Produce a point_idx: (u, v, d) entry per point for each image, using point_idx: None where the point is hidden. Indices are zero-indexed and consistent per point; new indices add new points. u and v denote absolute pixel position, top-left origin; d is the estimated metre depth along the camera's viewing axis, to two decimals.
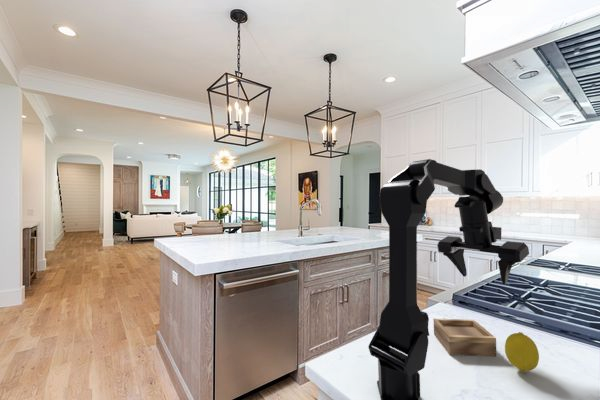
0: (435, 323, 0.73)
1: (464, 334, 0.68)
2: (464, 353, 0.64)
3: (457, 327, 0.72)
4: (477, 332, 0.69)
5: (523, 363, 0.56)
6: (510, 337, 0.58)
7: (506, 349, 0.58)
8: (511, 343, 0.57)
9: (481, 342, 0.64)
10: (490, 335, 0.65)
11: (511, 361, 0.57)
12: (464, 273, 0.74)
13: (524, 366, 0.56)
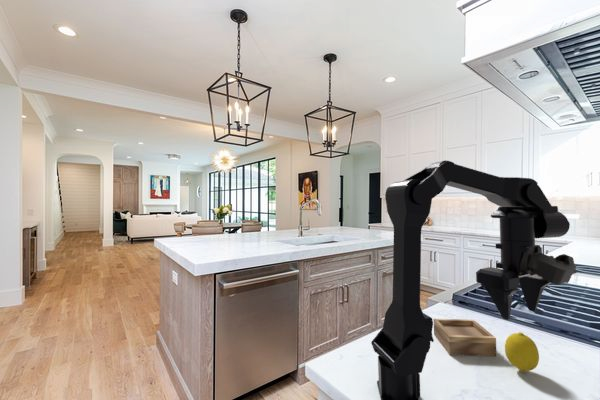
0: (435, 323, 0.73)
1: (464, 334, 0.68)
2: (464, 353, 0.64)
3: (457, 327, 0.72)
4: (477, 332, 0.69)
5: (523, 363, 0.56)
6: (510, 337, 0.58)
7: (506, 349, 0.58)
8: (511, 343, 0.57)
9: (481, 342, 0.64)
10: (490, 335, 0.65)
11: (511, 361, 0.57)
12: (529, 306, 0.60)
13: (524, 366, 0.56)
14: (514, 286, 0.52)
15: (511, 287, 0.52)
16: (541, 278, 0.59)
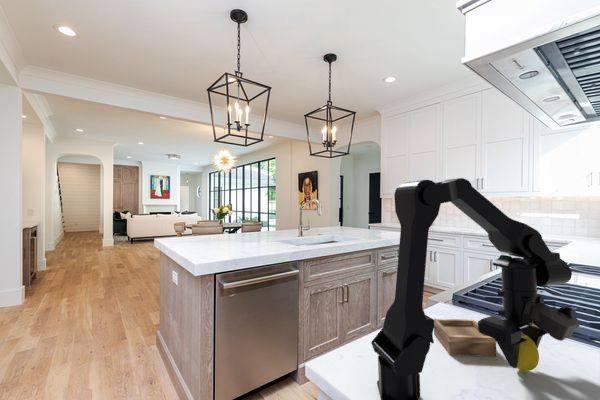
0: (435, 323, 0.73)
1: (464, 334, 0.68)
2: (464, 353, 0.64)
3: (457, 327, 0.72)
4: (477, 332, 0.69)
5: (523, 363, 0.56)
6: None
7: None
8: None
9: (481, 342, 0.64)
10: None
11: None
12: None
13: (524, 366, 0.56)
14: (516, 340, 0.52)
15: (513, 341, 0.52)
16: (539, 327, 0.58)
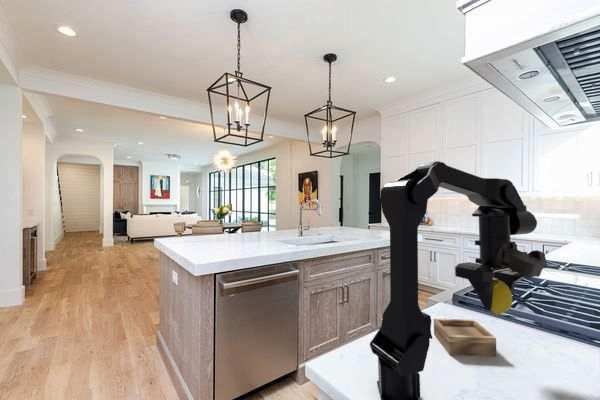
0: (435, 323, 0.73)
1: (464, 334, 0.68)
2: (464, 353, 0.64)
3: (457, 327, 0.72)
4: (477, 332, 0.69)
5: (496, 305, 0.60)
6: None
7: None
8: None
9: (481, 342, 0.64)
10: (490, 335, 0.65)
11: None
12: None
13: (498, 307, 0.60)
14: (488, 279, 0.56)
15: (485, 280, 0.56)
16: (513, 274, 0.62)
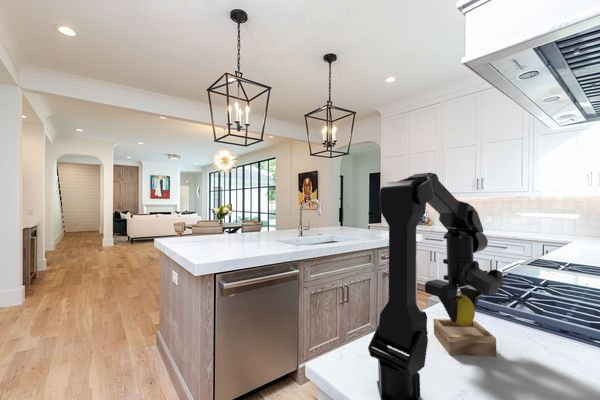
0: (435, 323, 0.73)
1: (464, 334, 0.68)
2: (464, 353, 0.64)
3: (457, 327, 0.72)
4: (477, 332, 0.69)
5: (461, 318, 0.67)
6: None
7: None
8: None
9: (481, 342, 0.64)
10: (490, 335, 0.65)
11: None
12: None
13: (462, 320, 0.67)
14: (452, 296, 0.63)
15: (449, 297, 0.63)
16: (476, 289, 0.69)
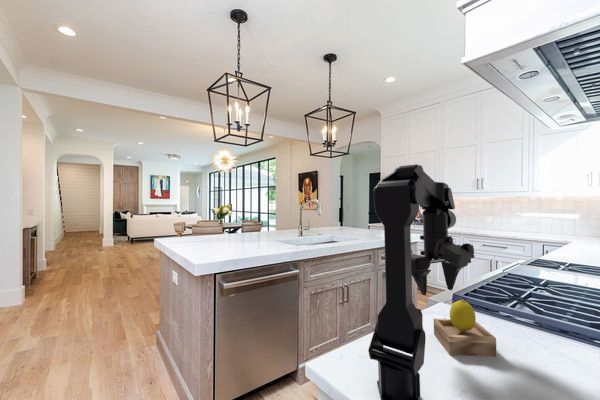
0: (435, 323, 0.73)
1: (464, 334, 0.68)
2: (464, 353, 0.64)
3: None
4: (477, 332, 0.69)
5: (461, 324, 0.67)
6: (454, 304, 0.70)
7: (450, 313, 0.70)
8: (453, 308, 0.69)
9: (481, 342, 0.64)
10: (490, 335, 0.65)
11: (453, 323, 0.69)
12: (448, 286, 0.75)
13: (462, 326, 0.67)
14: (425, 268, 0.67)
15: (422, 268, 0.67)
16: None
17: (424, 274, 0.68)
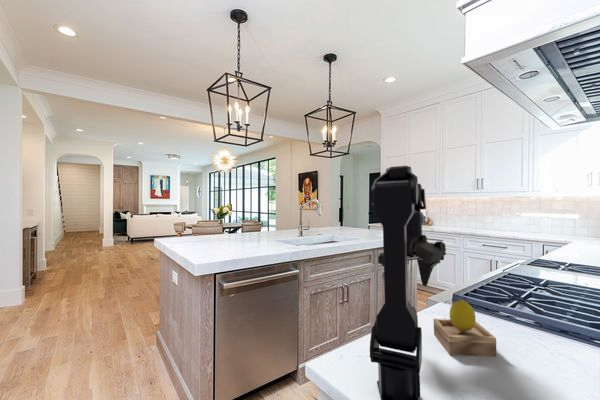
0: (435, 323, 0.73)
1: (464, 334, 0.68)
2: (464, 353, 0.64)
3: None
4: (477, 332, 0.69)
5: (461, 324, 0.67)
6: (453, 304, 0.70)
7: (450, 314, 0.70)
8: (453, 308, 0.69)
9: (481, 342, 0.64)
10: (490, 335, 0.65)
11: (453, 323, 0.69)
12: (422, 282, 0.79)
13: (462, 327, 0.67)
14: None
15: None
16: None
17: None
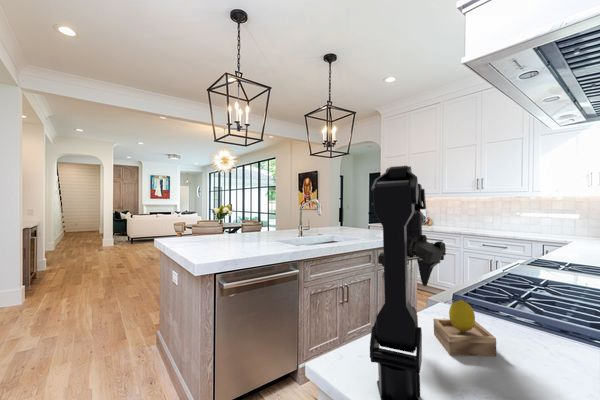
0: (435, 323, 0.73)
1: (464, 334, 0.68)
2: (464, 353, 0.64)
3: None
4: (477, 332, 0.69)
5: (461, 324, 0.67)
6: (453, 304, 0.70)
7: (449, 314, 0.70)
8: (452, 308, 0.69)
9: (481, 342, 0.64)
10: (490, 335, 0.65)
11: (453, 323, 0.69)
12: (422, 282, 0.79)
13: (462, 327, 0.67)
14: None
15: None
16: None
17: None
